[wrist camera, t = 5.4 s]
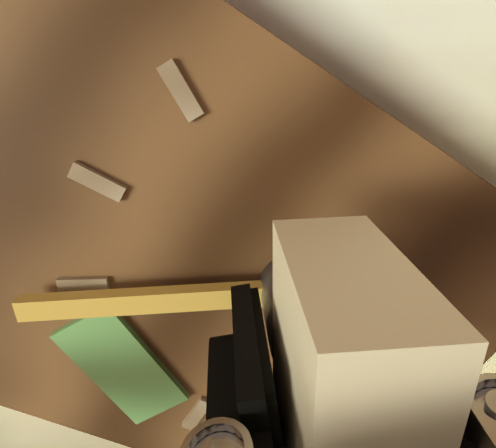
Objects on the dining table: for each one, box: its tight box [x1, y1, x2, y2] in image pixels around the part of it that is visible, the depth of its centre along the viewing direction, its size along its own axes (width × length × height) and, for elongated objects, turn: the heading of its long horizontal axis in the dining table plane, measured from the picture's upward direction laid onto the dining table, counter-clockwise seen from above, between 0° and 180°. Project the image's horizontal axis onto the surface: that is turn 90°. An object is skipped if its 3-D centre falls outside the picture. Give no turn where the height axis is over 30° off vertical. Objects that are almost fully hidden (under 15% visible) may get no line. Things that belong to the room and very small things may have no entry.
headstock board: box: [0, 0, 496, 448], centre depth 14 cm, size 22×16×3 cm
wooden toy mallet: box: [12, 216, 489, 448], centre depth 9 cm, size 10×7×7 cm
